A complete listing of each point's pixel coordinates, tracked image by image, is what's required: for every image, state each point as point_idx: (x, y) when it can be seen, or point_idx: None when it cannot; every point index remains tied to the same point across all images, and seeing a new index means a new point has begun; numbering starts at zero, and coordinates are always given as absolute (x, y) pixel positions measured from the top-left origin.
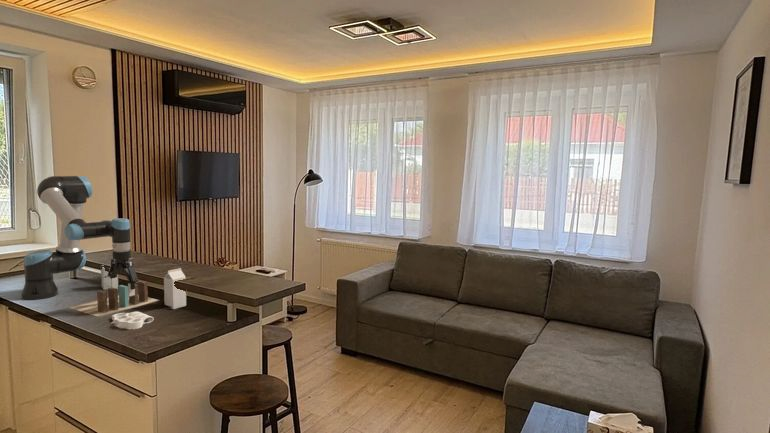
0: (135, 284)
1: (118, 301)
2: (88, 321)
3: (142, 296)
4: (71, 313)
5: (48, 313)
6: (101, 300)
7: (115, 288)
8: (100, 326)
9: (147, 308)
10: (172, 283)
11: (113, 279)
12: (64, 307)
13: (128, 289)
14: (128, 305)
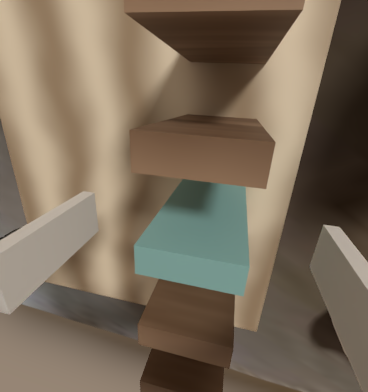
0: (257, 168)
1: (109, 144)
2: (235, 340)
3: (237, 57)
4: (98, 296)
5: (47, 311)
6: None
7: (204, 343)
8: (333, 370)
9: (356, 122)
10: None
11: (14, 291)
12: None
13: (334, 318)
14: (245, 187)
